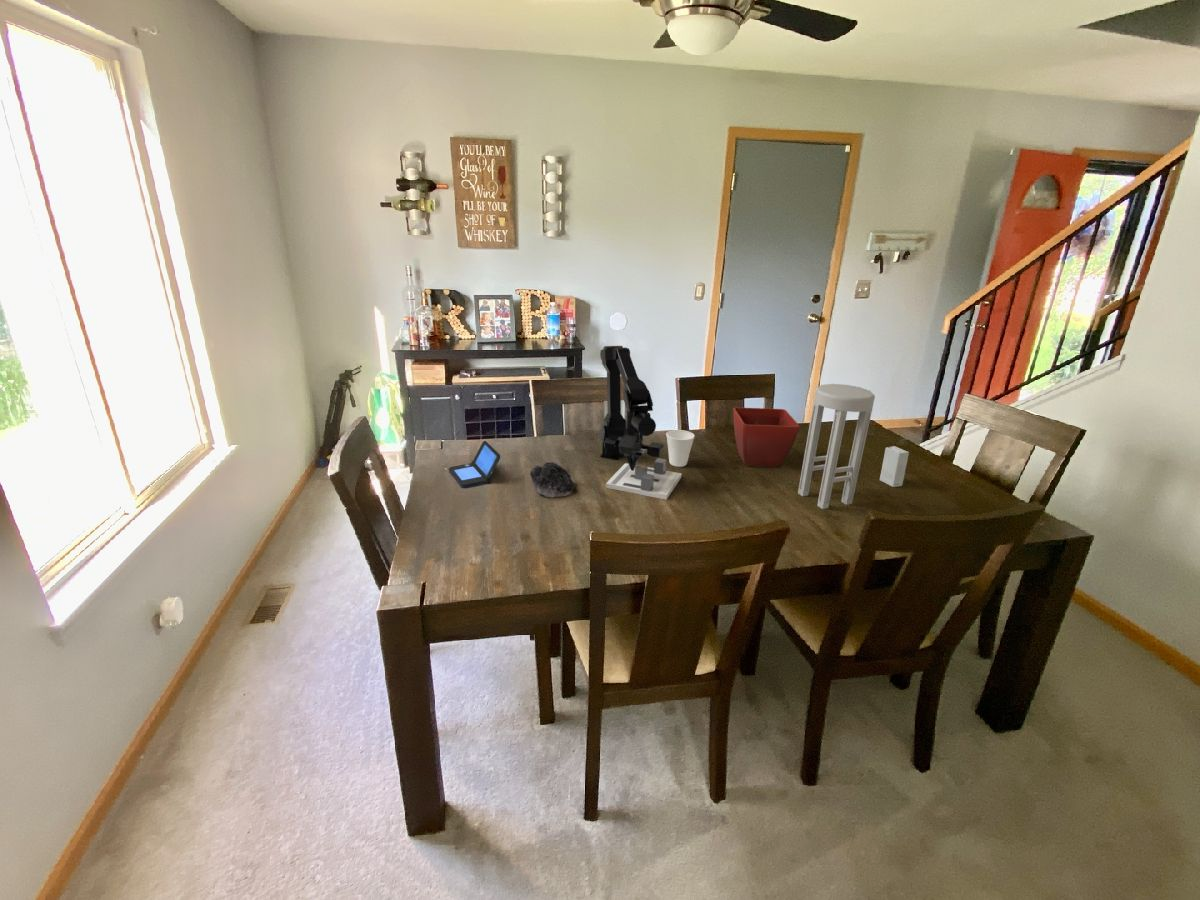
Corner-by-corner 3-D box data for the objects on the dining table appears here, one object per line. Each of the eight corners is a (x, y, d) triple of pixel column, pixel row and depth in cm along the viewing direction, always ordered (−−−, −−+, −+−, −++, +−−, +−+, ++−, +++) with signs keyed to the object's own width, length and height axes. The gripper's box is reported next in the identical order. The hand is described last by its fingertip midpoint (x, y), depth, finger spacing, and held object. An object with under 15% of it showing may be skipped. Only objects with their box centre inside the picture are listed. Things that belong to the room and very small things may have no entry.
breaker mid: (634, 478, 184) (635, 467, 183) (638, 474, 187) (638, 463, 186) (643, 480, 183) (644, 468, 182) (646, 476, 186) (647, 464, 185)
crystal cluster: (580, 485, 184) (578, 456, 181) (568, 500, 171) (566, 468, 168) (540, 483, 187) (539, 454, 184) (526, 497, 174) (524, 467, 172)
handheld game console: (447, 471, 190) (445, 445, 187) (486, 464, 196) (484, 439, 193) (461, 489, 178) (460, 462, 174) (502, 481, 184) (501, 455, 180)
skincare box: (902, 486, 188) (911, 452, 184) (892, 487, 187) (900, 453, 182) (888, 478, 193) (895, 445, 189) (877, 480, 192) (885, 446, 188)
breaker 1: (640, 489, 177) (641, 477, 175) (644, 485, 180) (644, 473, 178) (649, 491, 176) (650, 479, 174) (653, 486, 179) (654, 475, 177)
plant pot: (793, 472, 197) (801, 426, 190) (738, 470, 197) (744, 424, 191) (778, 451, 214) (785, 408, 208) (727, 449, 215) (732, 407, 208)
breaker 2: (653, 472, 189) (654, 461, 187) (656, 468, 192) (657, 458, 190) (662, 474, 188) (663, 463, 186) (665, 470, 191) (666, 459, 189)
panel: (605, 487, 181) (606, 483, 180) (624, 467, 196) (625, 463, 196) (666, 499, 174) (666, 495, 174) (681, 477, 190) (681, 473, 189)
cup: (691, 459, 205) (694, 430, 201) (692, 470, 196) (695, 440, 191) (663, 457, 206) (666, 429, 201) (664, 468, 196) (666, 438, 192)
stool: (788, 491, 182) (805, 385, 169) (826, 485, 187) (846, 381, 174) (821, 513, 169) (843, 400, 156) (862, 505, 174) (886, 395, 161)
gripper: (597, 428, 176) (596, 474, 182) (655, 437, 169) (652, 485, 175) (611, 418, 185) (609, 462, 191) (666, 426, 179) (662, 471, 185)
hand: (632, 470), depth 185 cm, fingers closed
